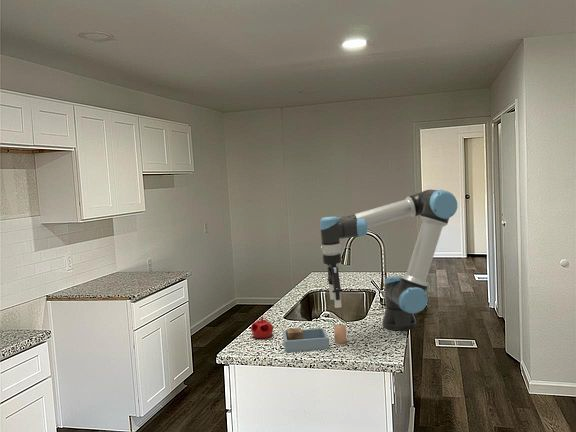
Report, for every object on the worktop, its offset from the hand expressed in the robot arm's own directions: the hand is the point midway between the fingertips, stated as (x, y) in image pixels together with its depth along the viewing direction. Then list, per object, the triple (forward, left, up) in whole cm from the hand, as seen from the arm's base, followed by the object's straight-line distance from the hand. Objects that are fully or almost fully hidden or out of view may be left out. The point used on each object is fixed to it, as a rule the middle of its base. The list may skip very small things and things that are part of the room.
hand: (335, 303), depth 218 cm
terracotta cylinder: (-1, 0, -17) cm, 17 cm away
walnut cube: (+18, 0, -16) cm, 24 cm away
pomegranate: (+32, -16, -17) cm, 40 cm away
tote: (+14, 0, -17) cm, 22 cm away
